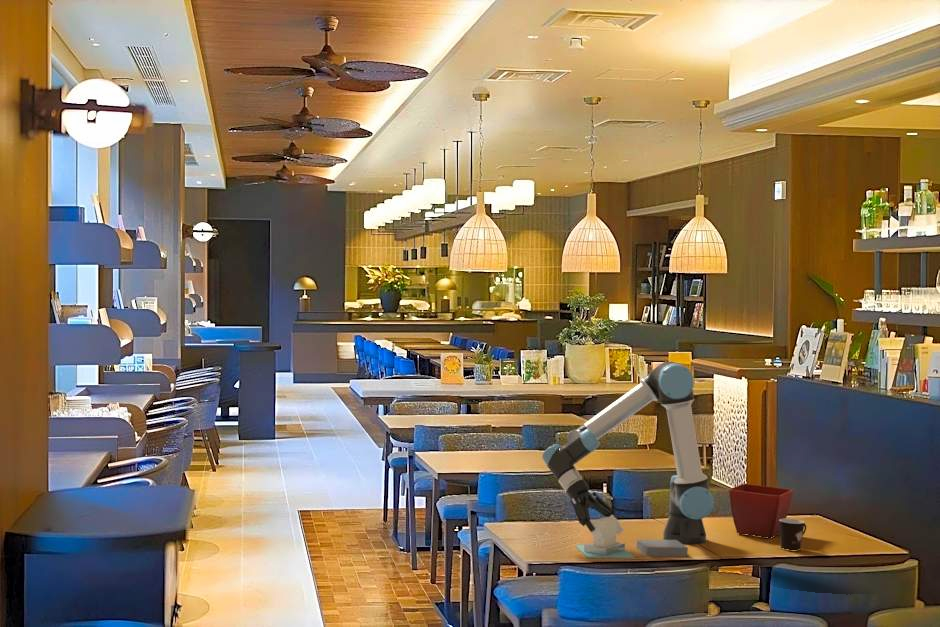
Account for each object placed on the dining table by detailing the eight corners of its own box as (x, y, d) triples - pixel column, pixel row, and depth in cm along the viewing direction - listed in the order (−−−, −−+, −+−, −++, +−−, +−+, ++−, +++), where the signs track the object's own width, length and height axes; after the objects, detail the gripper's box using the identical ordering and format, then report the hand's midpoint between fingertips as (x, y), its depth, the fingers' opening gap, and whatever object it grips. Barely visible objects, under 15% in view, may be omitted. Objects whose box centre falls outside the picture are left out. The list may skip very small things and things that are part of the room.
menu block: (593, 549, 401) (594, 519, 401) (605, 545, 408) (606, 516, 408) (603, 551, 399) (604, 521, 399) (615, 547, 405) (616, 518, 405)
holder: (583, 551, 401) (584, 544, 401) (602, 546, 411) (603, 539, 411) (606, 555, 396) (606, 549, 396) (624, 550, 406) (625, 543, 406)
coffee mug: (784, 552, 414) (785, 523, 414) (773, 546, 422) (774, 518, 422) (815, 552, 416) (817, 523, 416) (804, 546, 425) (805, 518, 424)
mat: (575, 545, 411) (575, 544, 411) (620, 546, 413) (620, 545, 413) (587, 557, 393) (587, 556, 393) (634, 558, 396) (634, 557, 396)
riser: (636, 548, 411) (637, 539, 411) (676, 548, 413) (676, 539, 413) (646, 556, 399) (647, 547, 399) (687, 556, 401) (687, 547, 401)
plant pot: (792, 534, 447) (794, 489, 447) (777, 542, 431) (779, 495, 430) (741, 527, 457) (743, 483, 456) (725, 535, 440) (728, 489, 440)
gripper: (561, 482, 399) (598, 534, 390) (600, 474, 419) (636, 523, 410) (547, 495, 402) (584, 547, 394) (586, 487, 422) (621, 536, 414)
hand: (610, 535), depth 402 cm, fingers open, 13 cm apart
